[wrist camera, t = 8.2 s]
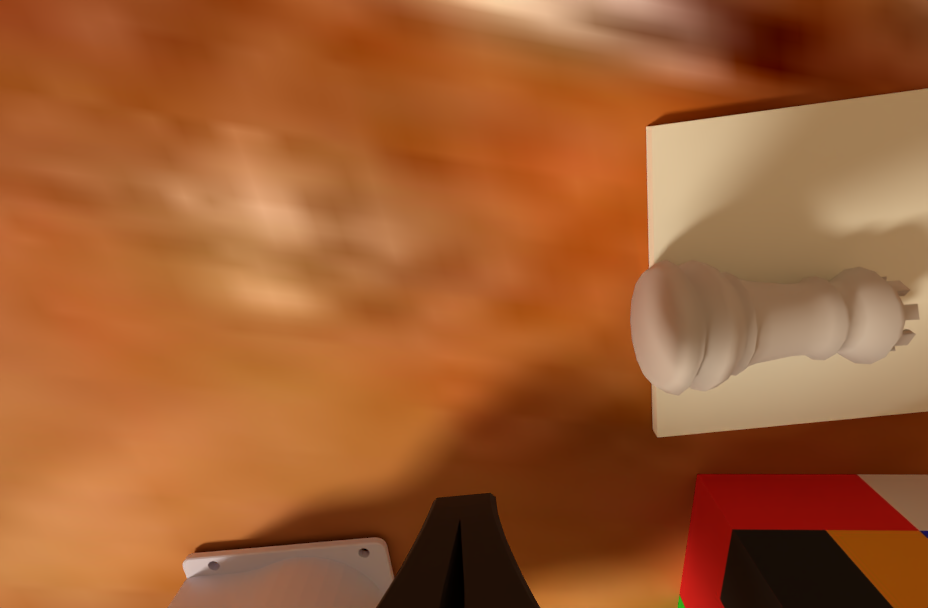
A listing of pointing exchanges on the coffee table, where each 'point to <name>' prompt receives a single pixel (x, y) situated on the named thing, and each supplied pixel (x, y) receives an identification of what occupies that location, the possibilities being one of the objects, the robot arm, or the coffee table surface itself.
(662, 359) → the rook chess piece
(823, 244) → the paper sticky note
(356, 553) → the robot arm
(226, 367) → the coffee table surface
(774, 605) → the puzzle toy
